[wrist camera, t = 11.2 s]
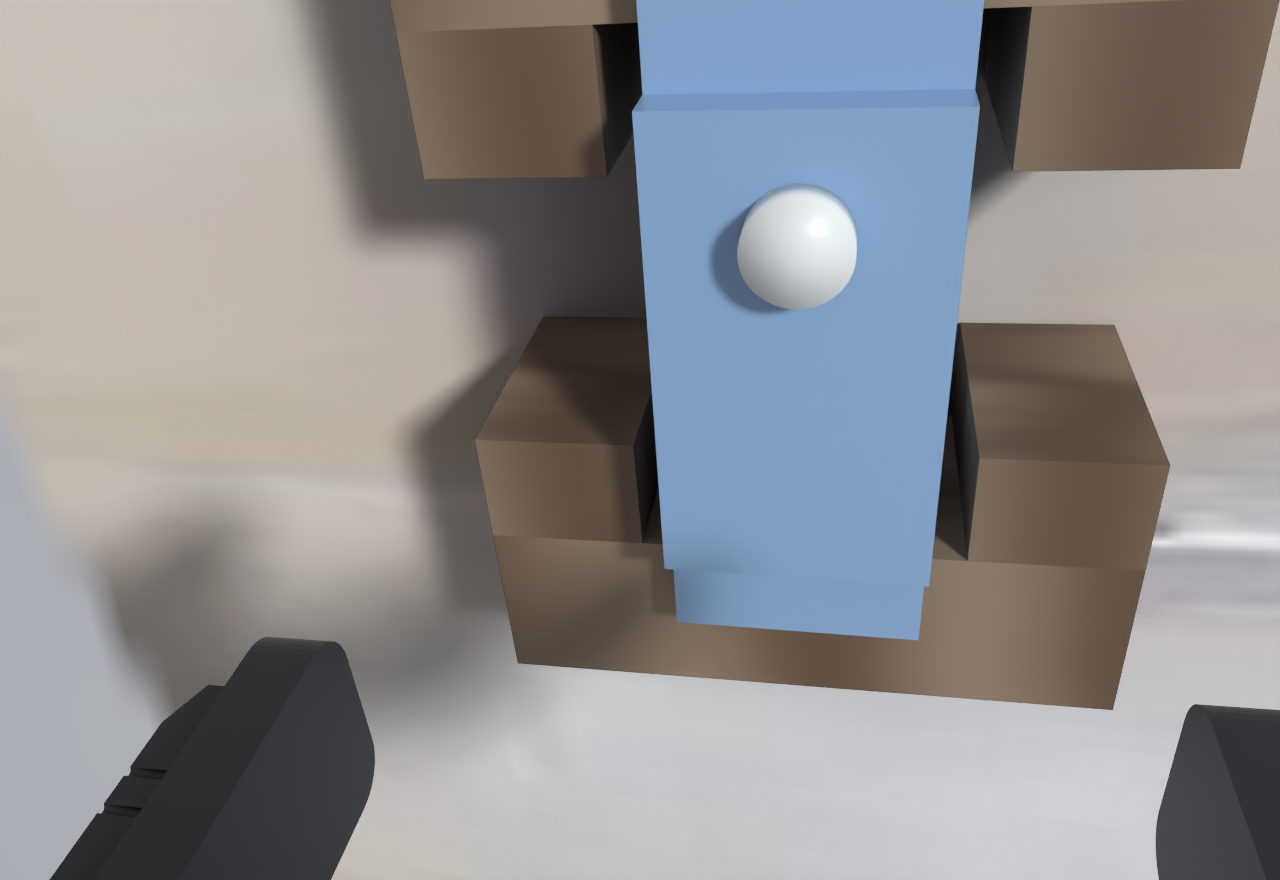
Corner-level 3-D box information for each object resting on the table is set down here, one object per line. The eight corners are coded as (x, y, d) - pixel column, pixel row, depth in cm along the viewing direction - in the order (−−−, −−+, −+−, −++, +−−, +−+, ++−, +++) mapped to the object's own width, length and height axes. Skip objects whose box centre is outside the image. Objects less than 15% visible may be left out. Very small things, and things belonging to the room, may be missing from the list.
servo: (711, 467, 25) (664, 675, 19) (689, -111, 18) (610, -42, 13) (911, 477, 24) (921, 696, 18) (963, -126, 17) (1003, -58, 12)
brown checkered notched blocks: (571, 521, 27) (517, 663, 23) (462, -254, 18) (341, -248, 14) (1073, 547, 25) (1113, 709, 21) (1234, -327, 16) (1360, -344, 12)
